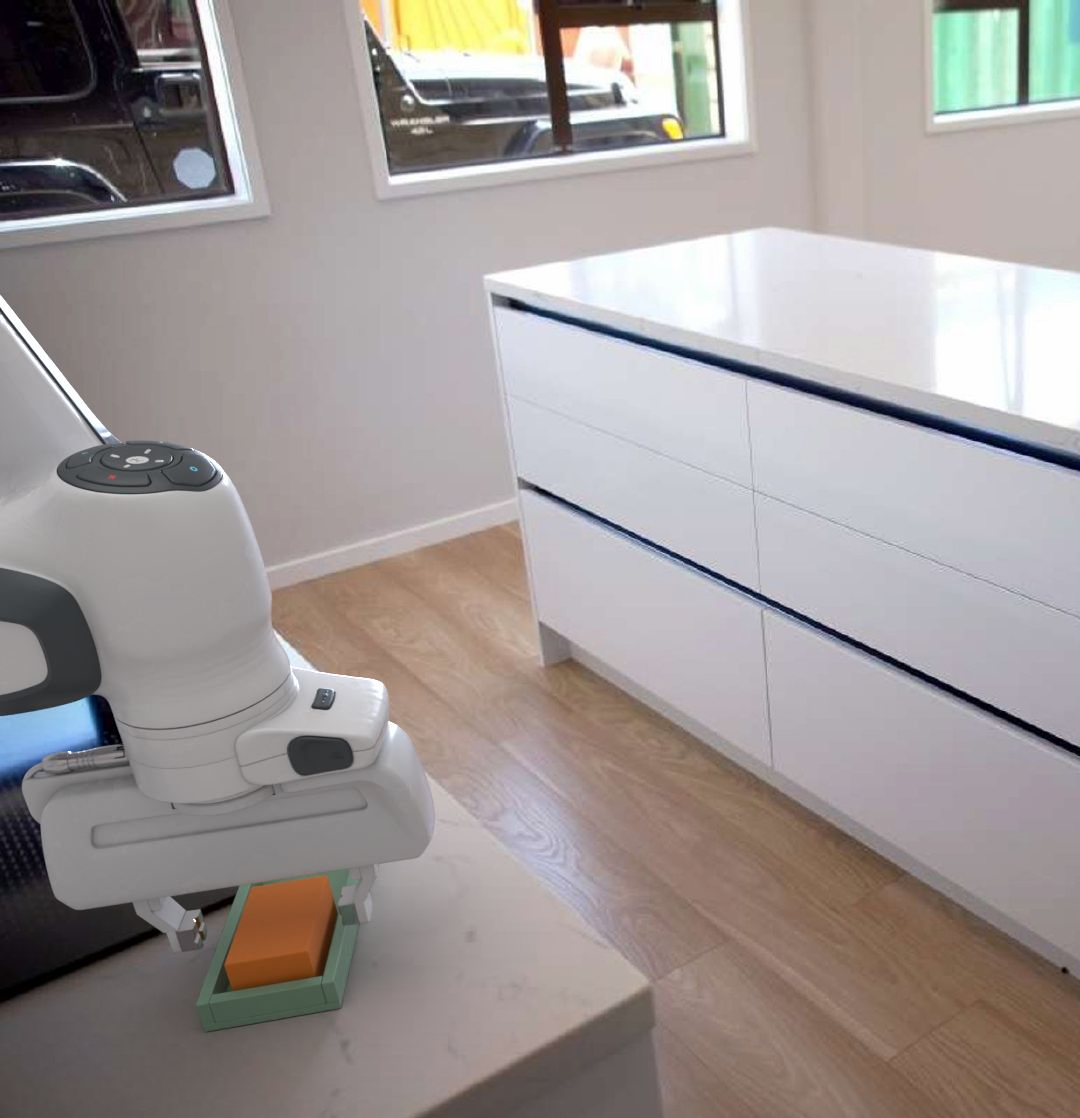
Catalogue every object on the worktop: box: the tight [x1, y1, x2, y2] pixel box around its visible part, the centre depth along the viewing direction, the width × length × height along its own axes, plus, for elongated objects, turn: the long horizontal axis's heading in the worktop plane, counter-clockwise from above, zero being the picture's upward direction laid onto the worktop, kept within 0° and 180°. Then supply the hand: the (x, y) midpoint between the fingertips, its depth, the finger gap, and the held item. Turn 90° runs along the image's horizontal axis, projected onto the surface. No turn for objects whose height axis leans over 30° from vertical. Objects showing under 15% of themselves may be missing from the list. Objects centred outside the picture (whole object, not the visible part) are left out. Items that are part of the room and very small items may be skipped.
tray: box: [195, 869, 360, 1033], centre depth 79 cm, size 7×16×2 cm, turn 11°
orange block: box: [224, 875, 338, 991], centre depth 76 cm, size 4×7×3 cm, turn 11°
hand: (275, 931), depth 75 cm, fingers open, 8 cm apart
